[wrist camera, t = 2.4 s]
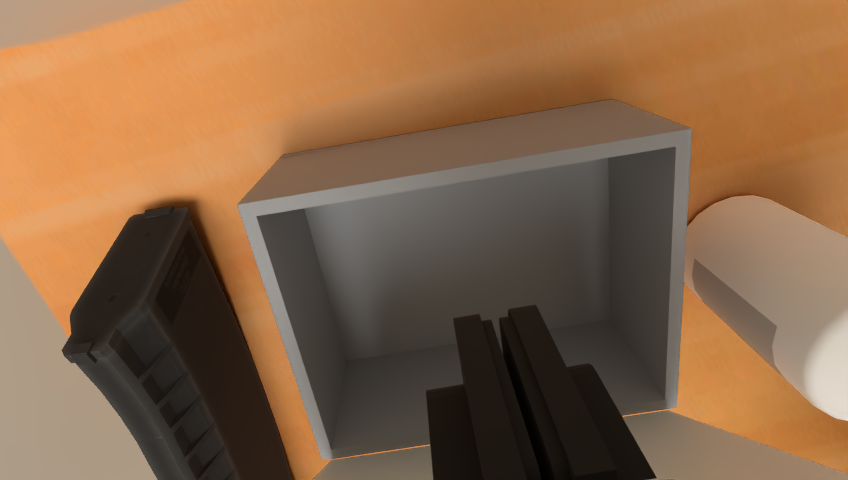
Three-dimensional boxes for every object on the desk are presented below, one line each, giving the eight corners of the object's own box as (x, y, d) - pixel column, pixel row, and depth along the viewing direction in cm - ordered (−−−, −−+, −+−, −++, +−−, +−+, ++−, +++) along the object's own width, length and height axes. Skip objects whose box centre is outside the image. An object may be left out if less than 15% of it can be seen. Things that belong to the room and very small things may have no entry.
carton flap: (890, 489, 12) (898, 511, 12) (667, 410, 25) (670, 420, 25) (205, 586, 13) (206, 608, 13) (331, 460, 25) (332, 470, 25)
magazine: (3, 227, 19) (172, 881, 23) (86, 214, 19) (243, 873, 22) (204, 204, 36) (283, 579, 40) (249, 197, 36) (323, 573, 39)
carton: (613, 98, 27) (692, 128, 19) (614, 319, 32) (676, 407, 25) (282, 155, 27) (237, 204, 20) (340, 362, 33) (322, 460, 25)
